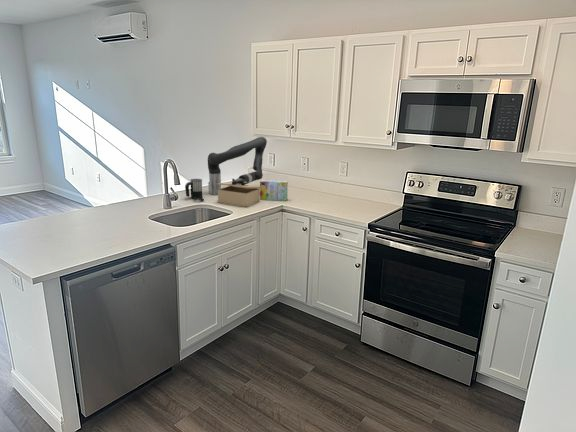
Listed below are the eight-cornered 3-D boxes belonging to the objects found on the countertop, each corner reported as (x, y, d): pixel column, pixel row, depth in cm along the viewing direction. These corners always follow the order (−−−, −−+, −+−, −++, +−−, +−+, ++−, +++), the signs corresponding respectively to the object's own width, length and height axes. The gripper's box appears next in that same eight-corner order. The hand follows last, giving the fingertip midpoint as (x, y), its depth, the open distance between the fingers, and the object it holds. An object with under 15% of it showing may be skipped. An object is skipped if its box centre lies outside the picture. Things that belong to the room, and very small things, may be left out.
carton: (218, 202, 294) (217, 189, 291) (232, 197, 310) (232, 185, 308) (246, 207, 284) (246, 193, 281) (259, 201, 300) (259, 188, 297)
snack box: (287, 199, 309) (287, 180, 304) (286, 201, 303) (287, 182, 299) (261, 198, 311) (261, 179, 306) (259, 199, 305) (259, 180, 301)
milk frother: (196, 196, 312) (195, 177, 307) (212, 199, 304) (211, 180, 300) (183, 199, 300) (182, 180, 295) (199, 202, 292) (198, 183, 288)
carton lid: (217, 184, 290) (217, 182, 290) (231, 184, 308) (231, 183, 308) (246, 188, 279) (247, 186, 279) (260, 188, 297) (260, 187, 297)
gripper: (238, 173, 302) (225, 177, 287) (252, 175, 297) (240, 179, 282) (238, 183, 304) (225, 187, 289) (252, 184, 299) (240, 189, 284)
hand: (232, 183), depth 285 cm, fingers closed
